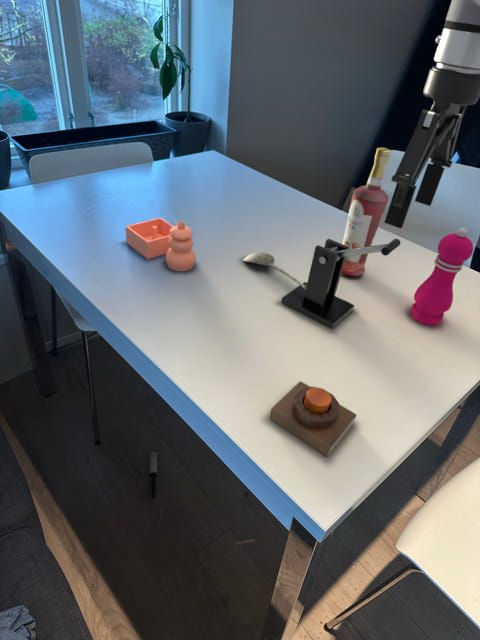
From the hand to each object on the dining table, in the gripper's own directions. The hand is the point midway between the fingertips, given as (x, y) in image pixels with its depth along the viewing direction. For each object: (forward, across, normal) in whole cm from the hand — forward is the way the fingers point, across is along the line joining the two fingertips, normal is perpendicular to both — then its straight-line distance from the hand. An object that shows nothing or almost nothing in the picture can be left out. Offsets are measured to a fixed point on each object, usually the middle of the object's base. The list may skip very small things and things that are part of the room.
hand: (408, 213), depth 74 cm
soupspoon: (+23, 0, -22) cm, 32 cm away
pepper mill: (+24, -12, +7) cm, 27 cm away
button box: (+24, +29, +4) cm, 38 cm away
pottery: (+24, +10, -47) cm, 53 cm away
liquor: (+24, -16, -13) cm, 31 cm away
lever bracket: (+24, +2, -11) cm, 26 cm away
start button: (+20, +29, +4) cm, 36 cm away
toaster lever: (+10, +2, -5) cm, 11 cm away
